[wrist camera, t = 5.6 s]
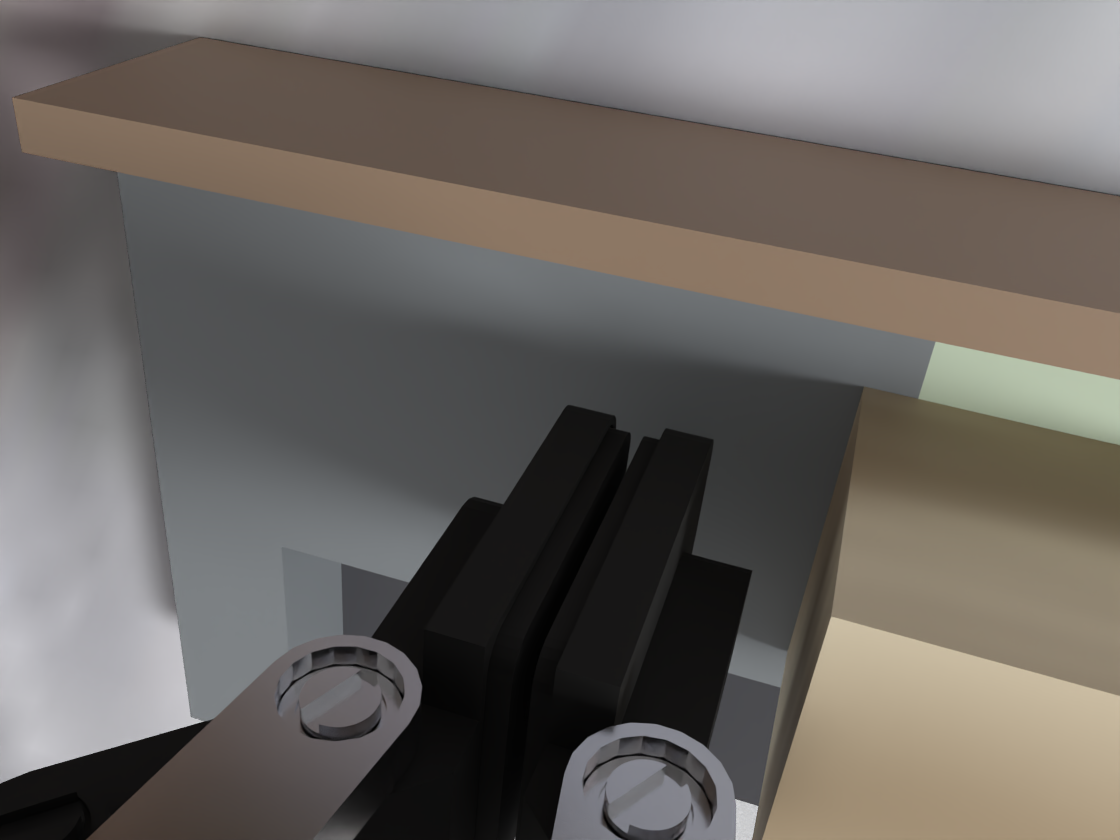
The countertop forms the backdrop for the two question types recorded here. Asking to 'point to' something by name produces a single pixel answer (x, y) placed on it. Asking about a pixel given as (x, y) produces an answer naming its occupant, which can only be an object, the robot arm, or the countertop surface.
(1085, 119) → the countertop surface
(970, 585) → the maple cube
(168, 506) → the trap board
